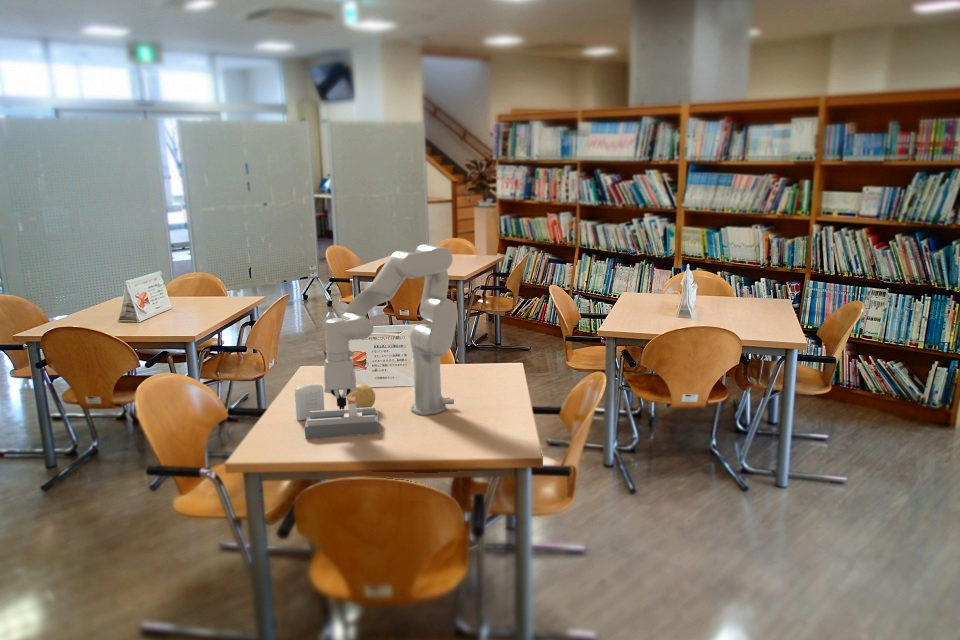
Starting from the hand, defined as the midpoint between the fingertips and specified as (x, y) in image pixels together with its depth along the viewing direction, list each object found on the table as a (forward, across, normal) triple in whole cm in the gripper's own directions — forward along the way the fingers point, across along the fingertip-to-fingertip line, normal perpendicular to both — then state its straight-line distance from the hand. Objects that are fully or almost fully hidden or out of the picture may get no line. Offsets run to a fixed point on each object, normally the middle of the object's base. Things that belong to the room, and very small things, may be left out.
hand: (342, 407), depth 244 cm
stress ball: (+8, -6, -18) cm, 21 cm away
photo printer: (+8, +12, -15) cm, 21 cm away
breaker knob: (+4, -3, 0) cm, 5 cm away
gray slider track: (+8, 0, 0) cm, 8 cm away
